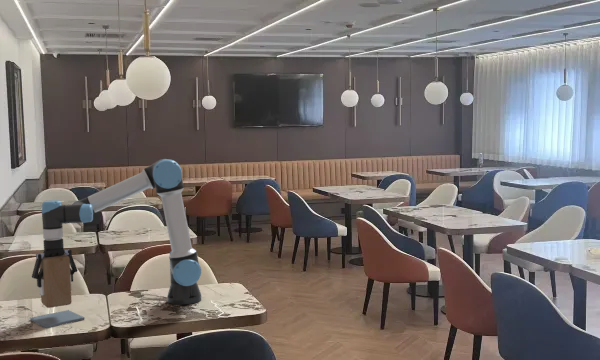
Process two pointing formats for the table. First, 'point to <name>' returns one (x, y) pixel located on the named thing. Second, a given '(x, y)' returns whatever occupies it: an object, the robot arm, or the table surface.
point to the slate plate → (57, 318)
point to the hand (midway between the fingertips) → (56, 292)
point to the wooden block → (56, 281)
